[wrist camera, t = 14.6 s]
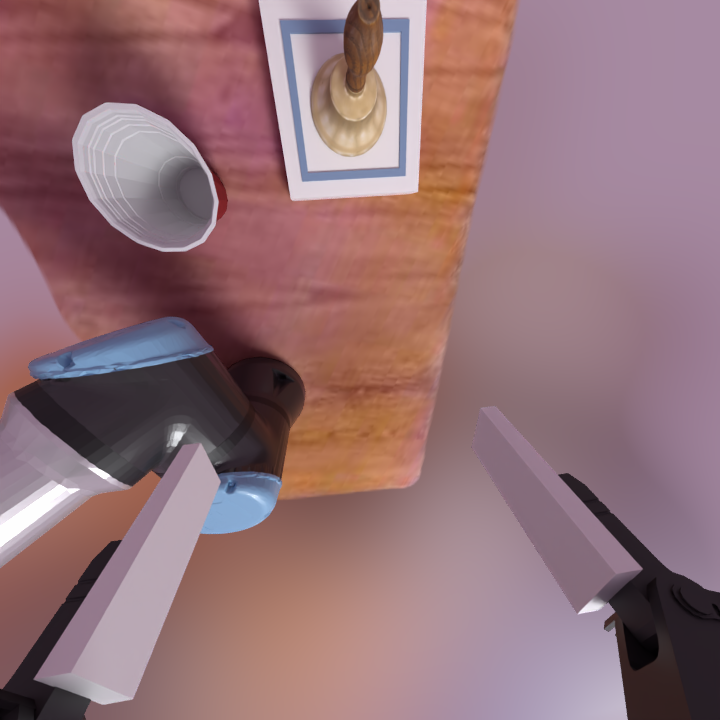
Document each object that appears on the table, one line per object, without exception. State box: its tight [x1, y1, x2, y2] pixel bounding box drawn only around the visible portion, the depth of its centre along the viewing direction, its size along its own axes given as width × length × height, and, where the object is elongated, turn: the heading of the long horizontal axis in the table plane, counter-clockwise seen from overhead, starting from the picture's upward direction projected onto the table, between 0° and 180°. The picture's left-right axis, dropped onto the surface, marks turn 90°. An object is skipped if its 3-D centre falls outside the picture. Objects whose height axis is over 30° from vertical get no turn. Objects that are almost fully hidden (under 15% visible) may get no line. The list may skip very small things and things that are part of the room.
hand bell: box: [311, 0, 387, 157], centre depth 21 cm, size 8×8×16 cm
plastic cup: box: [72, 102, 228, 252], centre depth 27 cm, size 11×11×12 cm
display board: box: [259, 0, 427, 201], centre depth 29 cm, size 16×16×3 cm
